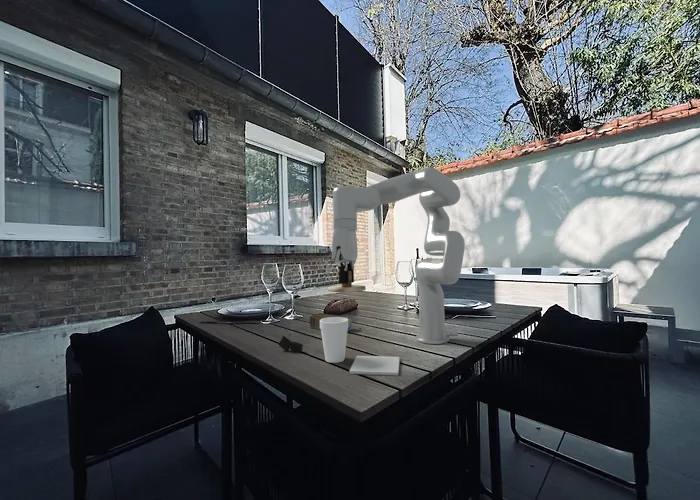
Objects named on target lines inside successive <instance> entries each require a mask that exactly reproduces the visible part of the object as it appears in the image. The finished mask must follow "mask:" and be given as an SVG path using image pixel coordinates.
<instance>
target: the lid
mask: <svg viewBox="0 0 700 500" xmlns="http://www.w3.org/2000/svg"><path fill="white" fill-rule="evenodd" d="M348 272H349V283H348V284H340V285H331V286H328V287H327V291H328V292H330V293H359V292H364V291H366V285H362V284H361V285H360V284H353V283H352V275H351V271H348Z"/></svg>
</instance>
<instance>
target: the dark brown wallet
mask: <svg viewBox="0 0 700 500" xmlns="http://www.w3.org/2000/svg"><path fill="white" fill-rule="evenodd" d="M277 345H278V346H279V347H280V348H282V349H283V350H284V351H285V352H288V351H289V350H290V351H292V352H293V353H302V352H303V347H304V344H303V343H301V342H296V341H294V340H293V339H292V334H290V333H286V334H283V335H282V338H281V339H280V341H279V343H278V344H277Z"/></svg>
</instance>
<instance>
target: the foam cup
mask: <svg viewBox="0 0 700 500" xmlns="http://www.w3.org/2000/svg"><path fill="white" fill-rule="evenodd" d="M320 329H321V330H320V332H321V333H320V334H321V340H322V344H323V345H322V346H323V352H324V359H325V362H327V363H332V364H333V363H334V364H335V363H336V364H337V363H342V362H344V360H345V358H346V348H347V339H348V331H349V330H348V319H347V318H343V317H329V318H323V319H321V320H320ZM347 330H348V331H347ZM345 361H346V360H345Z"/></svg>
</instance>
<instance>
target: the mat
mask: <svg viewBox="0 0 700 500" xmlns="http://www.w3.org/2000/svg"><path fill="white" fill-rule="evenodd" d="M400 359H401V358H400V356H382V355H381V356H379V355H372V356H371V355H356V356H355V358H354V361H353V363H352V364H351V367H350V369H349V375H350V374H351V375H372V376H373V375H374V376H375V375H376V376H379V375H380V376H399V372H400V371H399V370H400Z"/></svg>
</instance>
